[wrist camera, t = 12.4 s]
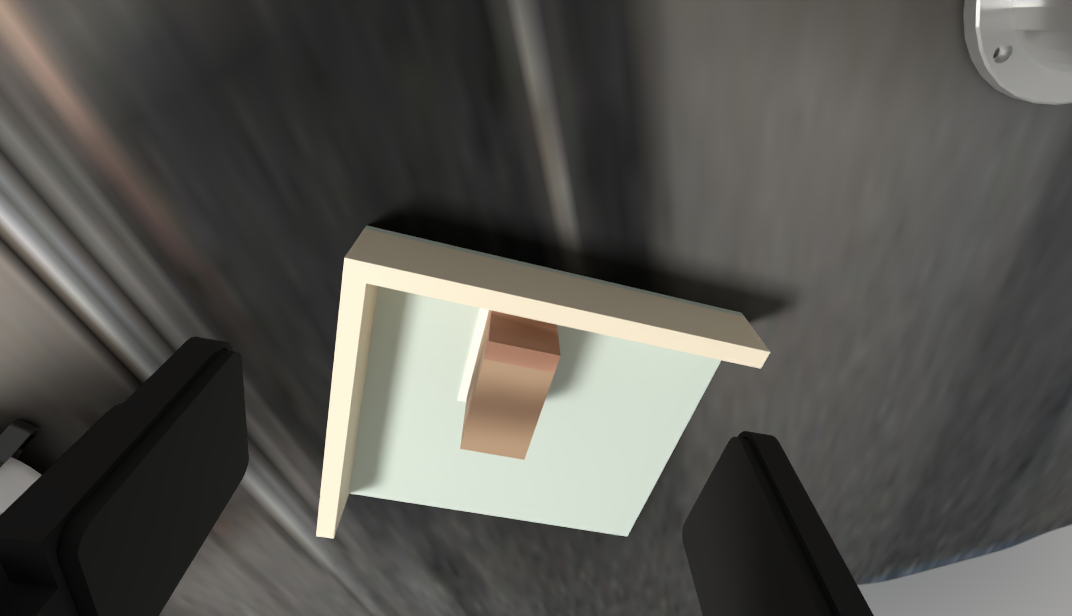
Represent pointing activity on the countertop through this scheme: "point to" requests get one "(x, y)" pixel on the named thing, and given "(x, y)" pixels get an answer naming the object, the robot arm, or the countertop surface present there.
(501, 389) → the copper block
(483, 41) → the countertop surface
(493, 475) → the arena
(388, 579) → the countertop surface
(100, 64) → the countertop surface
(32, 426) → the coffee press
